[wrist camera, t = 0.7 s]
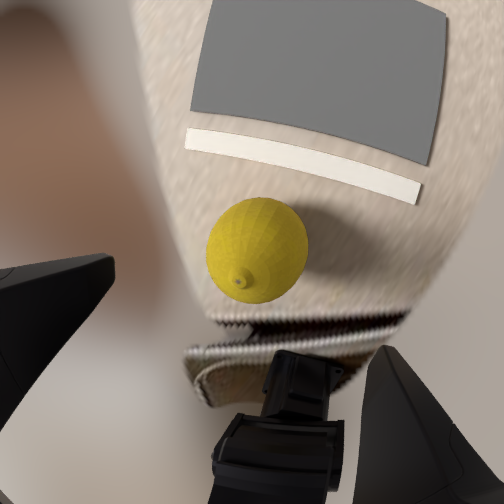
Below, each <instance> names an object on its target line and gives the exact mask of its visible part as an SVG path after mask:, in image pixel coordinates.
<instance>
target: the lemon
mask: <svg viewBox="0 0 504 504" xmlns="http://www.w3.org/2000/svg"><path fill="white" fill-rule="evenodd" d="M307 257H308V237H307V233H306V229H305V226H304V225H303V223H302V221H301V219H300V217H299V216H298V215H297V214H296V213H295V212H294V211H293V210H292V209H291V208H290V207H289V206H287V205H285V204H284V203H282V202H280V201H277V200H274V199H271V198H260V197H258V198H252V199H247V200H244V201H242V202H240V203H238V204H236V205H234V206H232V207H231V208H229V209H228V210H227V211H226V212H225V213H224V214H223V215H222V216H221V217H220V218H219V219H218V221H217V223H216V224H215V226H214V227H213V229H212V231H211V233H210V236H209V240H208V244H207V248H206V262H207V266H208V270H209V273H210V276H211V277H212V279H213V281H214V283H215V284H216V285H217V286H218V288H219V289H220V290H221V291H222V292H224V293H225V294H226V295H227V296H229V297H231V298H233V299H235V300H237V301H240V302H243V303H248V304H260V303H265V302H270V301H272V300H274V299H276V298H279V297H280V296H282V295H283V294H284V293H286V292H287V291H288V290H289V289H290V288H291V287H292V286H293V285H294V284H295V283H296V281H297V280H298V278H299V277H300V275H301V274H302V272H303V270H304V267H305V264H306V260H307Z"/></svg>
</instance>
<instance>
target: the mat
mask: <svg viewBox="0 0 504 504" xmlns="http://www.w3.org/2000/svg"><path fill="white" fill-rule="evenodd" d="M445 38H446V14H445V13H443V12H441V11H439V10H437V9H435V8H432V7H430V6H428V5H425V4H423V3H421V2H418V1H416V0H213V2H212V6H211V10H210V14H209V18H208V22H207V26H206V31H205V35H204V39H203V44H202V49H201V53H200V58H199V63H198V68H197V73H196V79H195V84H194V90H193V96H192V102H191V108H190V111H198V112H208V113H217V114H225V115H233V116H240V117H247V118H253V119H259V120H265V121H271V122H276V123H281V124H286V125H291V126H296V127H301V128H305V129H310V130H314V131H318V132H322V133H326V134H330V135H334V136H338V137H341V138H345V139H348V140H352V141H355V142H359V143H362V144H365V145H369V146H372V147H375V148H378V149H381V150H384V151H387V152H390V153H393V154H396V155H399V156H401V157H404V158H407V159H410V160H412V161H415V162H418V163H420V164H423V165H425V166H426V163H427V159H428V155H429V151H430V147H431V142H432V138H433V133H434V128H435V123H436V117H437V112H438V106H439V99H440V93H441V85H442V77H443V67H444V55H445Z"/></svg>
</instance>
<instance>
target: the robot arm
mask: <svg viewBox="0 0 504 504" xmlns="http://www.w3.org/2000/svg"><path fill="white" fill-rule="evenodd" d="M114 281H115V260H114V257H113V256H111V255H108V254H106V253H98V254H92V255H85V256H79V257H72V258H66V259H60V260H54V261H48V262H42V263H35V264H29V265H23V266H18V267H12V268H6V269H0V431H1V430H2V428H3V427H4V425H5V424H6V422H7V421H8V419H9V418H10V416H11V415H12V413H13V412H14V411H15V409H16V408H17V406H18V405H19V403H20V402H21V401H22V399H23V398H24V396H25V395H26V393H27V392H28V390H29V389H30V388H31V387H32V385H33V384H34V383H35V381H36V380H37V379H38V377H39V376H40V375H41V373H42V372H43V371H44V370H45V368H46V367H47V365H49V363H50V362H51V361H52V360H53V358H54V357H55V356H56V355H57V353H58V352H59V351H60V350H61V348H62V347H63V346H64V345H65V343H66V342H67V341H68V340H69V339H70V338H71V336H72V335H73V334H74V333H75V332H76V331H77V329H78V328H79V327H80V326H81V325H82V324H83V322H84V321H85V320H86V319H87V318H88V317H89V316H90V314H91V313H92V312H93V311H94V309H95V307H96V306H97V305H98V304H99V302H100V301H101V299H102V298H103V297H104V296H105V294H106V293H107V291H108V290H109V289H110V287H111V286H112V285H113V283H114ZM278 355H281V356H278ZM343 372H344V367H343V366H342V365H338V364H334V363H330V362H325V361H321V360H317V359H313V358H309V357H305V356H301V355H297V354H293V353H289V352H286V351H282V350H278V351H276V352H275V354H274V357H273V360H272V363H271V366H270V369H269V372H268V375H267V377H266V380H265V383H264V386H263V389H262V392H263V393H264V394H266V397H265V401H264V404H263V408H262V411H261V414H260V417H259V416H251V415H245V414H242V413H237V415H236V416H235V418H234V419H233V420H232V422H231V423H230V425H229V426H228V428H227V430H226V431H225V432H224V434H223V436H222V437H221V439H220V440H219V442H218V443H217V445H216V446H215V448H214V452H213V453H212V455H211V458H212V460H213V462H212V471H213V475H214V476H215V479H214V484H213V488H212V492H211V494H210V498H209V501H208V504H325V502H326V496H327V492H337V491H338V487H339V483H340V478H341V472H342V465H343V452H344V420H338V421H327V418H328V409H329V397H330V393H331V392H332V390H333V389H334V387H335V385H336V384H337V382H338V381H339V379H340V377H341V376H342V374H343ZM0 504H13V503H12V502H11V501H10V500H9V499H8V498H7V496H6V495H5V494H4V493H3V492H2V491H1V490H0ZM352 504H504V483H503V482H502V481H501V480H499V479H498V478H497V477H496V475H495V474H494V473H493V472H492V470H491V469H490V468H489V467H488V466H487V464H486V463H485V462H484V461H483V460H482V458H481V457H480V456H479V455H478V454H477V452H476V451H475V450H474V449H473V447H472V446H471V445H470V444H469V443H468V441H467V440H466V439H465V437H464V436H463V435H462V433H461V432H460V431H459V429H458V428H457V427H456V425H455V424H453V421H452V420H451V418H450V417H449V416H448V414H447V413H446V412H445V411H444V409H443V408H442V406H441V405H440V404H439V403H438V401H437V400H436V399H435V397H434V396H433V395H432V393H431V392H430V391H429V390H428V388H427V387H426V386H425V385H424V383H423V382H422V381H421V380H420V378H419V377H418V376H417V374H416V373H415V372H414V371H413V369H412V368H411V367H410V366H409V365H408V363H407V362H406V361H405V360H404V359H403V357H402V356H401V355H400V353H399V352H398V351H397V350H396V349H395V348H394V347H392V346H388V345H381V346H380V348H379V349H378V351H377V352H376V354H375V355H374V357H373V359H372V360H371V362H370V364H369V366H368V370H367V378H366V386H365V393H364V399H363V406H362V416H361V434H360V446H359V457H358V467H357V475H356V483H355V490H354V497H353V503H352Z"/></svg>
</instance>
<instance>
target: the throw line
mask: <svg viewBox="0 0 504 504" xmlns="http://www.w3.org/2000/svg"><path fill="white" fill-rule="evenodd" d="M185 149H191V150H197V151H204V152H210V153H216V154H222V155H228V156H233V157H238V158H244V159H249V160H254V161H259V162H263V163H268V164H273V165H277V166H282V167H286V168H290V169H295V170H299V171H303V172H307V173H311V174H315V175H319V176H322V177H326V178H330V179H334V180H337V181H341V182H344V183H348V184H351V185H355V186H358V187H361V188H365V189H368V190H371V191H374V192H377V193H381V194H384V195H387V196H390V197H393V198H396V199H399V200H402V201H405V202H407V203H410V204H413V205H415V202H416V199H417V196H418V192H419V189H420V185H421V183H419V182H416V181H413V180H411V179H408V178H405V177H402V176H400V175H397V174H394V173H391V172H388V171H385V170H382V169H379V168H376V167H373V166H370V165H366V164H363V163H360V162H356V161H353V160H350V159H346V158H342V157H339V156H335V155H331V154H328V153H324V152H320V151H316V150H312V149H308V148H304V147H299V146H295V145H290V144H286V143H281V142H276V141H271V140H266V139H261V138H255V137H250V136H244V135H238V134H232V133H225V132H218V131H211V130H203V129H195V128H187V135H186V142H185Z"/></svg>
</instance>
